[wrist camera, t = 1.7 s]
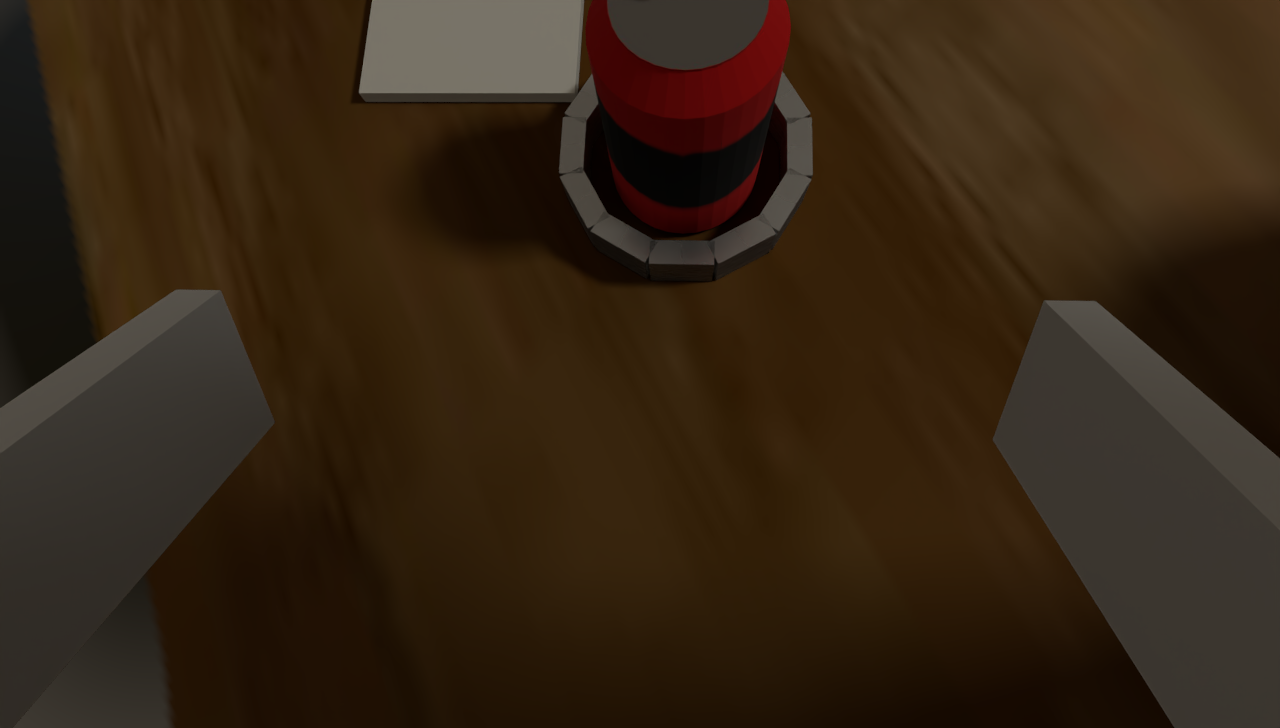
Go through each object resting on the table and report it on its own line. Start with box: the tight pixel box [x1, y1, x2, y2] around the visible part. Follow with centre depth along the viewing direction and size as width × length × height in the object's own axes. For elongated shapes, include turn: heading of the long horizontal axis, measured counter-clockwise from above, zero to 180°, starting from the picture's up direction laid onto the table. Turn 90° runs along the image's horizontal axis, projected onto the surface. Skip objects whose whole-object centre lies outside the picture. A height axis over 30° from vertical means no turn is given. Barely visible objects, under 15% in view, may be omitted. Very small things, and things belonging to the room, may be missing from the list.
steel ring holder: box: [559, 71, 813, 281], centre depth 33 cm, size 12×12×2 cm
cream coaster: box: [359, 0, 584, 102], centre depth 36 cm, size 12×12×1 cm
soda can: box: [586, 0, 791, 234], centre depth 28 cm, size 8×8×12 cm
